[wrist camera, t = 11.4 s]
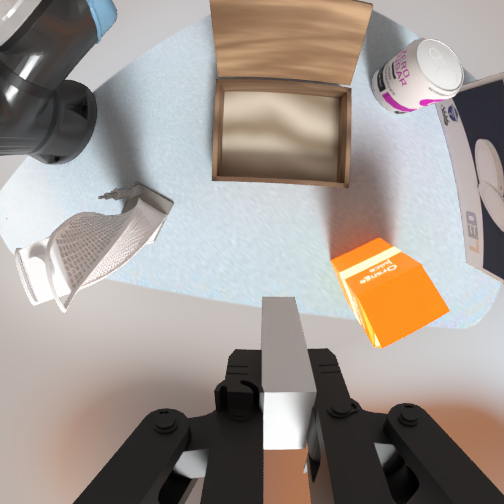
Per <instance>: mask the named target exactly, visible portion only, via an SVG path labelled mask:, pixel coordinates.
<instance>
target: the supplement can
mask: <svg viewBox="0 0 504 504" xmlns="http://www.w3.org/2000/svg"><path fill="white" fill-rule="evenodd" d="M463 79H464V73H463V68H462V65H461V63H460V60H459V58H458V57H457V56H456V54H455V53H454V51H453V50H452V49H451V48H449V47H448V46H447V45H446V44H444V43H442V42H440V41H439V40H435V39H424V38H422V39H418V40H414V41H413V42H412V43H411V44H409V45H408V46H407V47H406V48H404V49H403V50H402V51H401V52H399V53H398V54H397V55H396V56H394V57H393V58H392V59H391V60H389V61H388V62H387V63H386V64H385V65H383V66H382V67H381V68H380V69H379V70H378V71H377V72H376V73H374V76H373V79H372V90H373V93H374V96H375V98H376V99H377V101H378V102H379V103H380V105H381V106H383V107H384V108H385V109H386V110H388V111H390V112H393V113H395V114H405V113H408V112H411V111H414V110H417V109H419V108H422V107H425V106H428V105H431V104H434V103H437V102H440V101H443V100H446V99H449V98H451V97H454V96H455V95H456V94H457V92H458V91H459V89H460V87H461V86H462V84H463Z"/></svg>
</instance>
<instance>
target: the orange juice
mask: <svg viewBox="0 0 504 504" xmlns="http://www.w3.org/2000/svg"><path fill="white" fill-rule="evenodd" d="M331 263H332V265H333V268H334V270H335V273H336V275H337V278H338V280H339V283H340V285H341V288H342V290H343V293H344V296H345V298H346V300H347V302H348V304H349V305H350V307H351V309H352V310H353V312H354V314H355V316H356V318H357V319H358V321H359V323H360V324H361V325H362V327H363V329H364V331H365V332H366V334H367V336H368V337H369V339H370V341H371V343H372V344H373V346H374V347H377V348H383V347H386V346H388V345H389V344H392V343H393V342H395V341H397V340H399V339H401V338H403V337H405V336H407V335H409V334H411V333H412V332H414V331H416V330H418V329H420V328H422V327H423V326H425V325H427V324H429V323H430V322H432V321H434V320H436V319H437V318H439V317H441V316H442V315H444V314H446V313H447V312H449V309H448V307H447V305H446V304H445V302H444V300H443V299H442V297H441V296H440V294H439V292H438V291H437V289H436V287H435V286H434V284H433V283H432V281H431V280H430V278H429V276H428V275H427V273H426V272H425V270H424V269H423V267H422V265H421V264H420V263H418V262H417V261H415V260H414V259H412V258H411V257H409V256H407V255H406V254H404V253H403V252H402V251H400V250H399V249H397V248H396V247H393V246H392V245H390V244H388V243H387V242H385V241H384V240H382V239H380V238H377V239H375V240H373V241H371V242H369V243H367V244H365V245H362V246H360V247H358V248H356V249H354V250H352V251H350V252H348V253H346V254H343V255H341V256H339V257H337V258H335V259H333V260H331Z"/></svg>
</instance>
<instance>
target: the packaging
mask: <svg viewBox="0 0 504 504" xmlns="http://www.w3.org/2000/svg"><path fill="white" fill-rule="evenodd" d="M435 105H436V108H437V111H438V114H439V118H440V121H441V124H442V128H443V131H444V135H445V138H446V142H447V146H448V150H449V154H450V158H451V162H452V167H453V171H454V176H455V181H456V186H457V191H458V197H459V203H460V210H461V216H462V224H463V232H464V242H465V253H466V261H467V262H466V263H468V264H469V265H471V266H473V267H475V268H477V269H479V270H480V271H482V272H484V273H486V274H487V275H489V276H491V277H493V278H494V279H496V280H498V281H500V282H501V283H503V284H504V72H502V73H499V74H496V75H492V76H489V77H486V78H483V79H480V80H477V81H474V82H471V83H468V84H465V85H463V86H461V87H460V89H459V91H458V92H457V94H456V95H455V96H454V97H451V98H449V99H446V100H443V101H440V102H437V103H435Z"/></svg>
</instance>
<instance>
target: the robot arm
mask: <svg viewBox="0 0 504 504" xmlns="http://www.w3.org/2000/svg"><path fill="white" fill-rule="evenodd" d="M116 19H117V9H116V7H115V5H114V3H113V1H112V0H0V156H2V155H24V154H28V155H29V156H31V157H33V158H35V159H37V160H39V161H40V162H42V163H45V164H52V165H53V164H64V163H67V162H69V161H71V160H73V159H74V158H76V157H77V156H78V155H79V154H80V153H81V152H82V151H83V149H84V148H85V147H86V145H87V144H88V142H89V140H90V138H91V136H92V134H93V131H94V127H95V123H96V117H97V108H96V102H95V98H94V96H93V94H92V92H91V91H90V89H88V87H86V86H85V85H83V84H81V83H79V82H76V81H73V80H65V79H66V77H67V76H68V75H69V73H70V72H71V71H72V70H73V69H74V67H75V66H76V65H77V64H78V63H79V61H80V60H81V59H82V58H83V57H84V56H85V55H86V53H87V52H88V51H89V50H90V49H91V48H92V47H93V46H94V45H95V44H97V43H99V41H100V40H101V37H102V36H103V35H104V34H105V33H106V32H107V31H108V30H109V28H111V27H112V25H113V24H114V23H115V21H116ZM261 330H262V331H261V350H242V349H235V350H234V352H233V353H232V354H231V355H230V356H229V359H228V365H227V371H226V376H225V380H224V381H222V382H221V383H220V384H218V385H217V387H216V389H215V391H214V393H215V403H216V410H214V411H213V412H212V413H210V414H207V415H205V416H200V417H193V418H187V417H186V416H185V415H184V414H183V413H181V412H180V411H177V410H174V409H158V410H156V411H153V412H151V413H150V414H148V415H147V416H146V417H145V418H144V419H143V421H142V422H141V423H140V424H139V425H138V427H137V428H136V429H135V430H134V431H133V433H132V434H131V435H130V436H129V438H128V439H127V440H126V441H125V442H124V444H123V445H122V446H121V447H120V448H119V450H118V451H117V452H116V453H115V454H114V456H113V457H112V458H111V459H110V460H109V462H108V463H107V464H106V465H105V466H104V467H103V469H102V470H101V471H100V472H99V473H98V475H97V476H96V477H95V478H94V479H93V480H92V482H91V483H90V484H89V485H88V486H87V488H86V489H85V490H84V491H83V492H82V493H81V495H80V496H79V497H78V498H77V499H76V500H75V502H74V503H73V504H184V503H185V502H186V500H187V498H188V496H189V495H190V493H191V491H192V488H193V487H194V485H195V484H196V482H197V480H198V478H199V477H205V479H204V484H203V490H202V496H201V502H200V504H263V449H304V448H305V447H306V443H307V444H308V455H307V459H306V463H305V467H304V473H307V470H308V479H309V488H310V497H311V504H504V495H503V494H502V493H501V492H500V491H499V490H498V488H497V487H496V486H495V485H494V484H493V483H492V482H491V481H490V480H489V479H488V478H487V476H486V475H485V474H484V473H483V472H482V471H481V470H480V469H479V468H478V467H477V466H476V464H475V463H474V462H473V461H471V459H470V458H469V457H468V456H467V455H466V454H465V453H464V452H463V451H462V449H461V448H459V446H458V445H457V444H456V443H455V442H454V441H453V440H452V439H451V438H450V437H449V436H448V434H446V432H445V431H444V430H443V429H442V428H441V427H440V426H439V425H438V424H437V423H436V422H435V421H434V420H433V419H432V417H431V416H430V415H429V414H428V413H427V412H426V411H425V410H424V409H422V408H421V407H419V406H417V405H414V404H409V403H403V404H398V405H396V406H394V407H392V408H391V410H390V411H389V413H388V414H383V413H373V412H368V411H365V410H363V409H362V408H361V407H360V405H359V403H358V402H356V401H354V400H353V399H351V398H350V396H349V393H348V390H347V387H346V384H345V381H344V379H343V376H342V373H341V370H340V367H339V366H338V362H337V359H336V356H335V355H334V354H333V353H332V352H331V351H330V350H329V349H327V348H325V349H307V346H306V342H305V338H304V334H303V329H302V326H301V321H300V317H299V313H298V309H297V305H296V301H295V297H262V327H261Z"/></svg>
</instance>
